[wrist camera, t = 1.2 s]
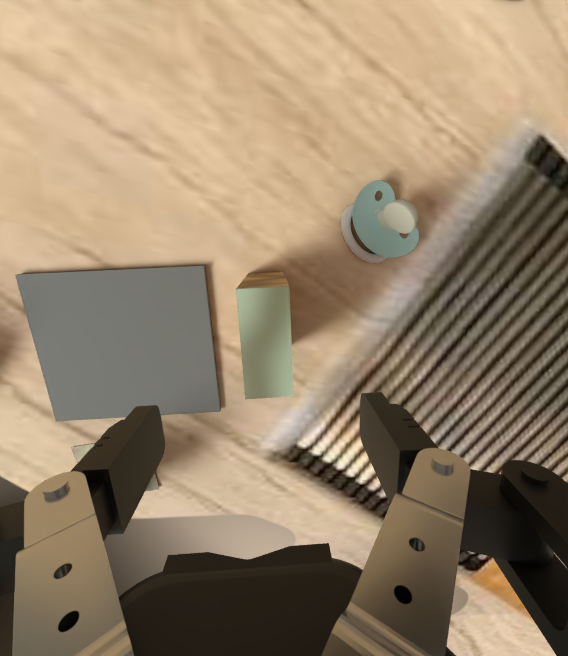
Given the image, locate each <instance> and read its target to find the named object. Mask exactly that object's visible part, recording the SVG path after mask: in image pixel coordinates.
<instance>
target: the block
mask: <svg viewBox="0 0 568 656" xmlns="http://www.w3.org/2000/svg"><path fill="white" fill-rule="evenodd" d="M236 295H237V307H238V318H239V330H240V341H241V353H242V364H243V376H244V387H245V399H256V398H273V397H290V396H294V393H293V367H292V342H291V316H290V290H289V285H288V282H287V280H286V277H285V275H284V273H283V272H268V273H248V275H247V276H246V277H245V278H244V280H243V281H242V282H241V284H240V285H239V286H238V287H237V289H236Z"/></svg>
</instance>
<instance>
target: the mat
mask: <svg viewBox="0 0 568 656" xmlns="http://www.w3.org/2000/svg"><path fill="white" fill-rule="evenodd" d="M15 276H16V279H17V283H18V286H19V290H20V294H21V297H22V301H23V304H24V308H25V311H26V315H27V319H28V322H29V326H30V329H31V333H32V337H33V340H34V344H35V347H36V351H37V355H38V358H39V362H40V365H41V369H42V372H43V376H44V380H45V383H46V387H47V390H48V394H49V398H50V401H51V405H52V408H53V412H54V416H55V419H56V421H69V420H86V419H103V418H119V417H127V416H128V415H129V414H130V413H131V411H132V410H133V409H134V408H135V407H136V406H149V405H157V406H158V407H159V410H160V415H169V414H186V413H203V412H219V411H220V410H221V404H220V396H219V387H218V378H217V369H216V360H215V351H214V342H213V333H212V324H211V315H210V306H209V297H208V288H207V279H206V270H205V265H203V266H181V267H160V268H139V269H118V270H97V271H75V272H54V273H33V274H17V275H15Z"/></svg>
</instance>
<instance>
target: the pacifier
mask: <svg viewBox="0 0 568 656" xmlns="http://www.w3.org/2000/svg"><path fill="white" fill-rule="evenodd" d="M377 191H381V192H382V198H381V200H380V201H377V200H376V199H375V194H376V192H377ZM351 218H352V219H353V224H354V228H355V230H356V233H357V235H358V237H359V238H360V240H361V241H362V242H363V244H364V245H365V246H366V247H367V248H369V249H370V250H371V251H372V252H374V253H376V254H370V253H368V252H366V251H365V250H363V249H362V248H361V247H360V246H359V245H358V244H357V242H356V241H355V239H354V237H353V235H352V232H351V227H350V222H351ZM417 222H418V212H417V209H416V207H415V206H414V205H413V204H412V203H410V202H409V201H406V200H396V199H395V195H394V192H393V190H392V188H391V186H390V185H389V184H388V183H386V182H384V181H381V180H376V181H373V182H371V183H369V184H367V185H366V186H365V187H364V188H363V189H362V190H361V192H360V193H359V195H358V196H357V198H356V201H355V203H353V204H351V205H349V206H347V208H346V209H345V210H344V212H343V214H342V217H341V229H342V234H343V237H344V240H345V242H346V243H347V245H348V247H349V248H350V249H351V251H352V252H353V253H354V254H355V255H356V256H358V257H359V258H360V259H362V260H364V261H366V262H369V263H380V262H382V261H384V260H386V259H387V258H395V257H400V256H404V255H406V254H408V253H409V252H411V251H412V250H413V249H414V248H415V247H416V245H417V243H418V240H419V232H418V228H417V226H416V225H417ZM400 233H403V234H406V233H408V236H407V237H406V238H402V237H401V236H400Z"/></svg>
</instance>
